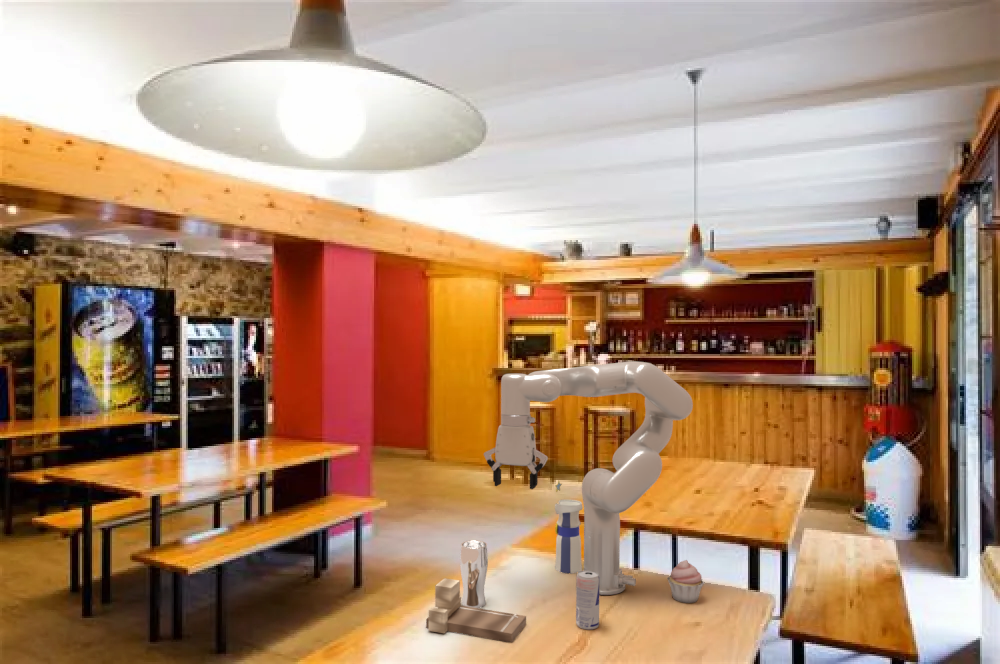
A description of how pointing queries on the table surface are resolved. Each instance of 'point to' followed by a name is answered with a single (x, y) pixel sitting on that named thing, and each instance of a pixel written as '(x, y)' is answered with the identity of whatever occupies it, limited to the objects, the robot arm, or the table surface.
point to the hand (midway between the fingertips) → (515, 486)
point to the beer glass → (473, 572)
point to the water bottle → (568, 536)
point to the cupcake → (685, 582)
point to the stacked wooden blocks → (444, 604)
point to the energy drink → (587, 599)
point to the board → (485, 623)
